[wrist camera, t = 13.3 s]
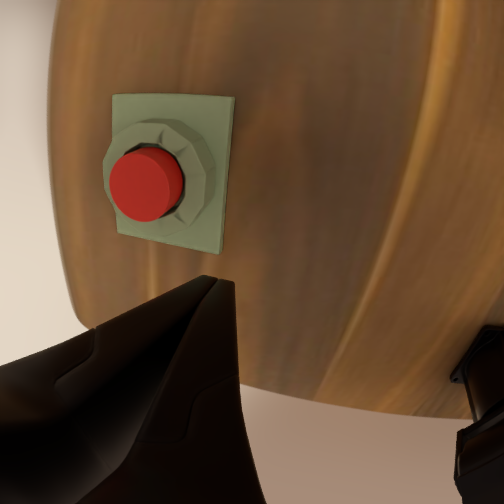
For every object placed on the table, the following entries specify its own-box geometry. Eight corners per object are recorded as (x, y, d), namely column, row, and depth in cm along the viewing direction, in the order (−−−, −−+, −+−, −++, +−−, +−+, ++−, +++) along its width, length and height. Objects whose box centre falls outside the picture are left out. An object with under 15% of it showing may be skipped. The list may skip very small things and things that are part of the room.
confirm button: (182, 216, 19) (170, 228, 17) (126, 205, 19) (111, 216, 18) (184, 149, 17) (170, 156, 15) (124, 144, 17) (107, 150, 16)
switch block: (222, 250, 22) (210, 269, 19) (122, 229, 23) (103, 244, 21) (235, 96, 17) (221, 98, 14) (118, 93, 18) (94, 96, 16)
